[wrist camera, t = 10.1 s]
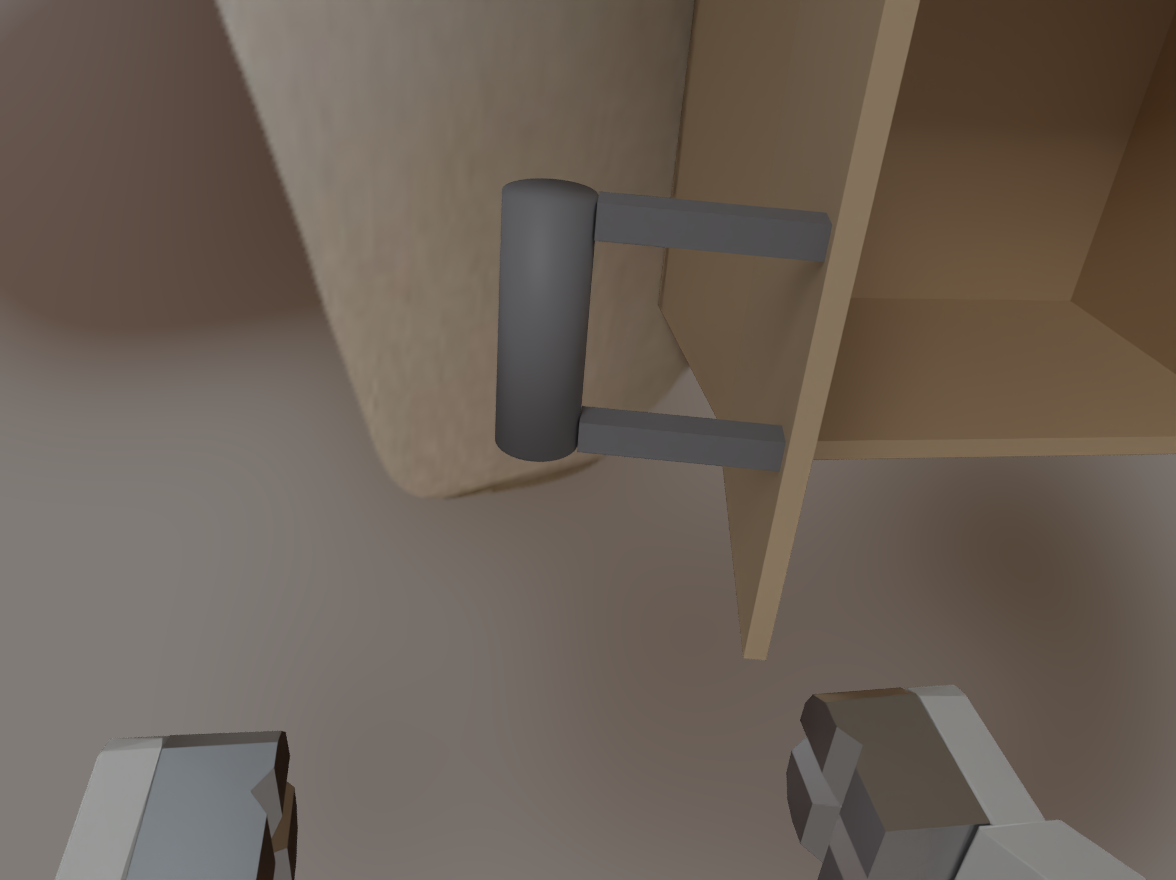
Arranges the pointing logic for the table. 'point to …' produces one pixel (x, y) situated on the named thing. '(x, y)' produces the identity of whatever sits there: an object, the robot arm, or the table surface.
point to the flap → (775, 306)
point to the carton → (966, 229)
